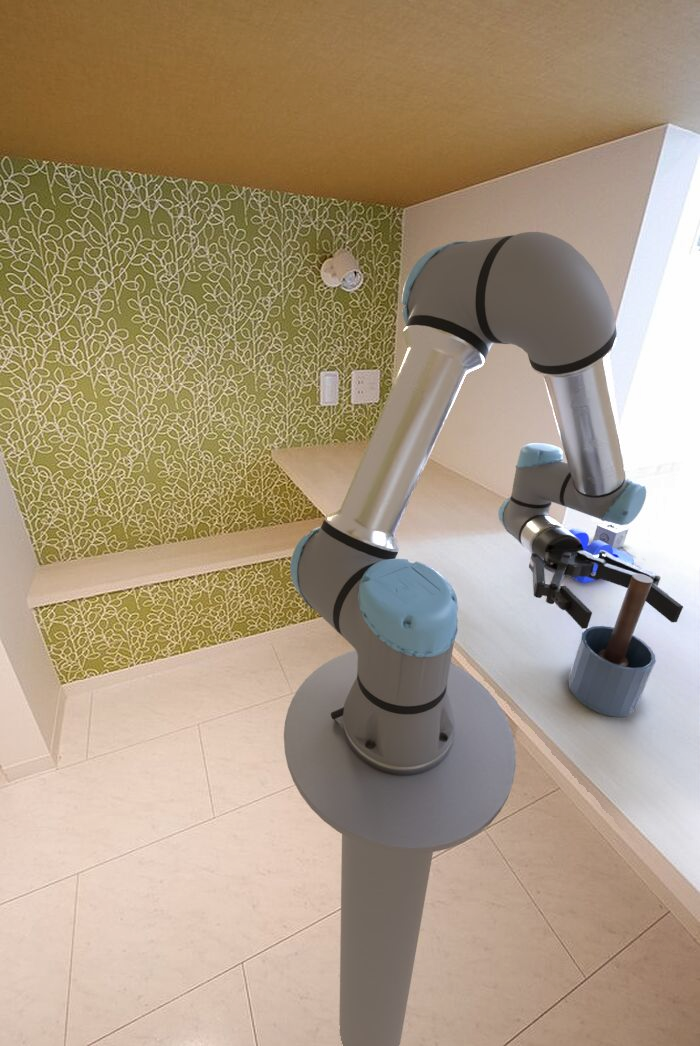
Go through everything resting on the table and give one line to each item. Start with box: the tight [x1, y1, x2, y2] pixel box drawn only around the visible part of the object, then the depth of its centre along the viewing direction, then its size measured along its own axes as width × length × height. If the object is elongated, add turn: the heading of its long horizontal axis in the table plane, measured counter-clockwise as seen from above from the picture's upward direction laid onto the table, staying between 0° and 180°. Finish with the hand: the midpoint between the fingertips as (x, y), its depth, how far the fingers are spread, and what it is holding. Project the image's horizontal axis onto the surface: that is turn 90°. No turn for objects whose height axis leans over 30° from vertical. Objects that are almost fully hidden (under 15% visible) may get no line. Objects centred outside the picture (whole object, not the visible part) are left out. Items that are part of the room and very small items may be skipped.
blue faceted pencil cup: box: [567, 625, 657, 718], centre depth 65 cm, size 9×9×9 cm
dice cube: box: [592, 521, 629, 549], centre depth 110 cm, size 5×5×5 cm
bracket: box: [568, 528, 635, 585], centre depth 99 cm, size 18×8×9 cm, turn 112°
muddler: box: [598, 573, 653, 667], centre depth 63 cm, size 4×4×20 cm
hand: (633, 617), depth 60 cm, fingers open, 13 cm apart
